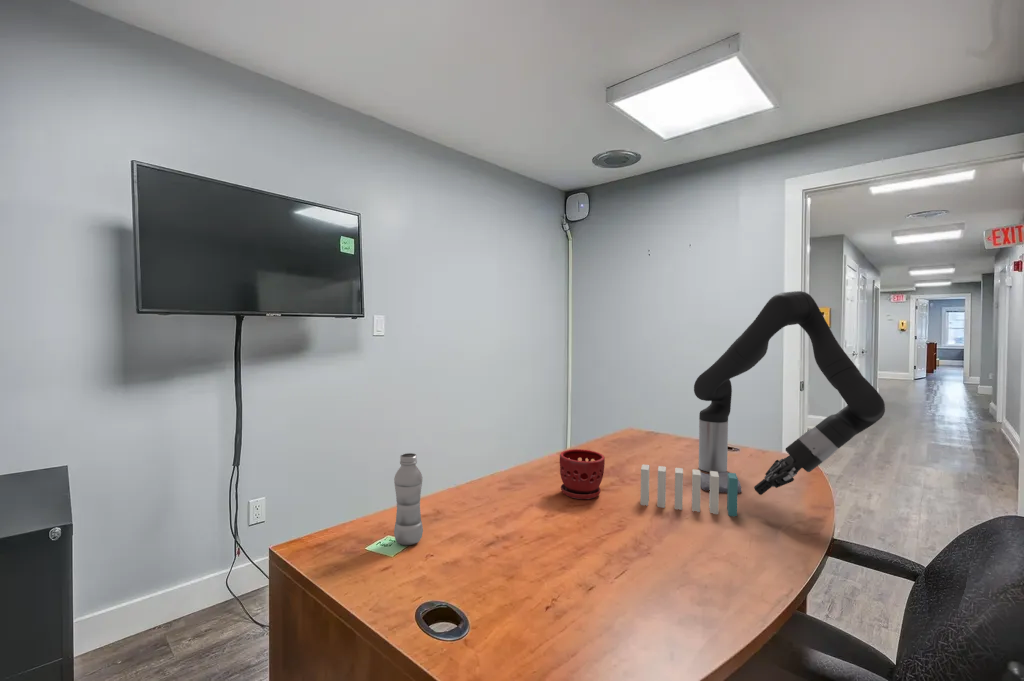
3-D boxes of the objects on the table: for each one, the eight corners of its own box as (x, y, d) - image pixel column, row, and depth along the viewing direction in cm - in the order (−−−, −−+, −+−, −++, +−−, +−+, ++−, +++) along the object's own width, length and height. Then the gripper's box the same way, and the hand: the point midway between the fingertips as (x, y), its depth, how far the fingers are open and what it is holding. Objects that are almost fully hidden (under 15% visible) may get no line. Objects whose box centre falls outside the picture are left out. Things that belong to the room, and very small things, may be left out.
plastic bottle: (398, 551, 106) (398, 460, 106) (390, 539, 112) (390, 453, 112) (426, 545, 109) (426, 457, 109) (418, 533, 115) (418, 450, 115)
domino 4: (692, 511, 131) (692, 474, 130) (691, 504, 135) (692, 469, 135) (700, 512, 130) (700, 475, 130) (699, 505, 135) (700, 469, 134)
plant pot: (553, 498, 139) (554, 457, 139) (566, 485, 152) (566, 447, 151) (598, 505, 134) (599, 462, 134) (608, 490, 147) (608, 451, 146)
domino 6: (728, 515, 128) (729, 478, 127) (727, 509, 132) (727, 472, 132) (737, 516, 127) (737, 478, 127) (735, 509, 132) (735, 473, 131)
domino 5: (710, 513, 129) (710, 476, 129) (709, 506, 134) (709, 470, 134) (718, 514, 128) (719, 476, 128) (717, 507, 133) (717, 471, 133)
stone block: (744, 500, 145) (732, 482, 155) (745, 485, 144) (733, 468, 154) (703, 499, 146) (694, 482, 156) (704, 485, 145) (694, 469, 155)
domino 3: (674, 509, 132) (675, 472, 132) (674, 502, 137) (675, 467, 137) (682, 510, 131) (682, 473, 131) (682, 503, 136) (682, 468, 136)
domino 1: (640, 504, 135) (640, 469, 135) (641, 498, 140) (642, 464, 139) (647, 505, 134) (648, 469, 134) (649, 499, 139) (649, 465, 139)
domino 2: (657, 506, 134) (657, 470, 133) (658, 500, 138) (658, 466, 138) (664, 507, 133) (665, 471, 133) (665, 501, 138) (666, 466, 137)
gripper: (794, 432, 130) (742, 473, 135) (805, 443, 118) (749, 488, 122) (816, 454, 129) (763, 494, 133) (830, 467, 116) (772, 511, 121)
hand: (756, 491), depth 128 cm, fingers closed
